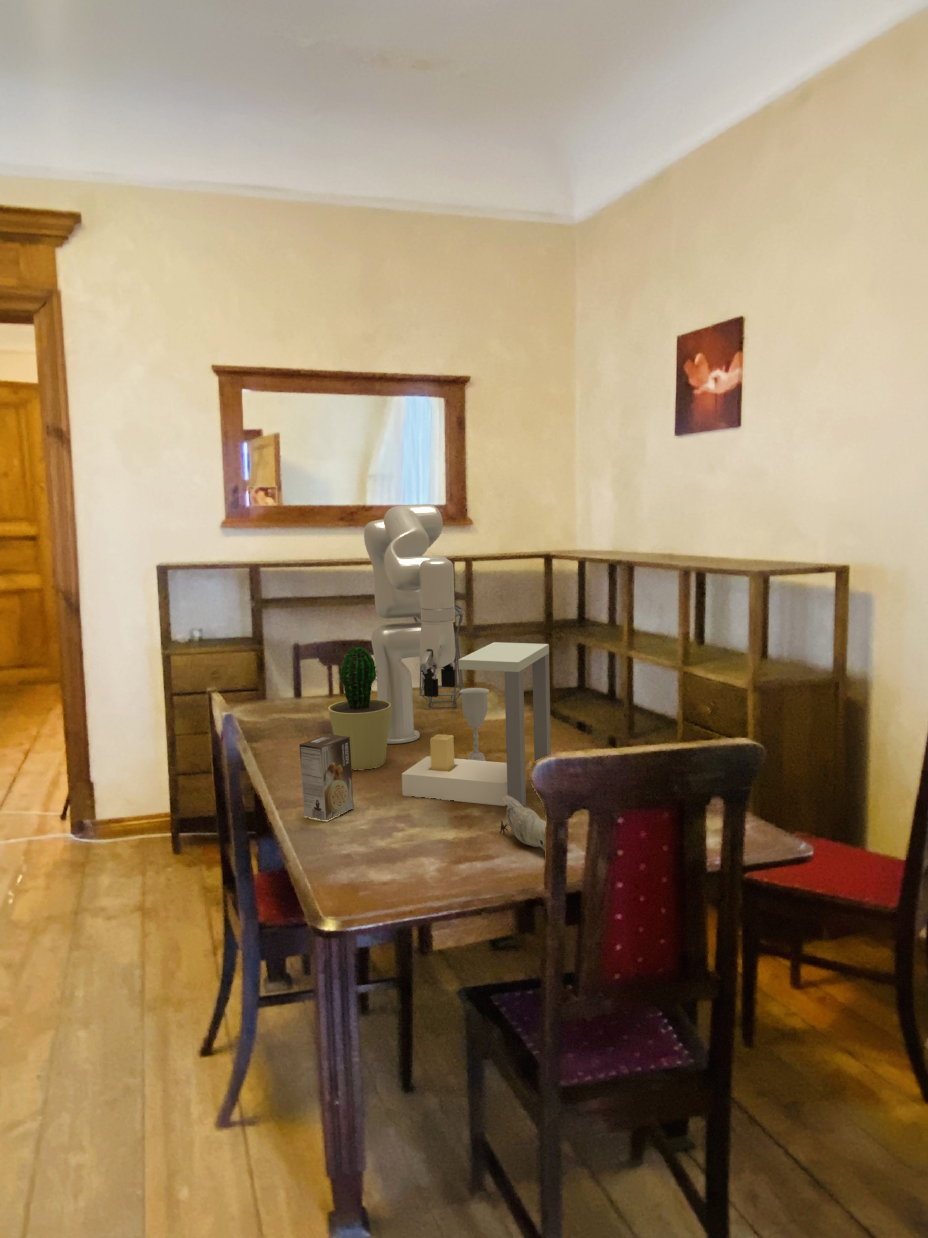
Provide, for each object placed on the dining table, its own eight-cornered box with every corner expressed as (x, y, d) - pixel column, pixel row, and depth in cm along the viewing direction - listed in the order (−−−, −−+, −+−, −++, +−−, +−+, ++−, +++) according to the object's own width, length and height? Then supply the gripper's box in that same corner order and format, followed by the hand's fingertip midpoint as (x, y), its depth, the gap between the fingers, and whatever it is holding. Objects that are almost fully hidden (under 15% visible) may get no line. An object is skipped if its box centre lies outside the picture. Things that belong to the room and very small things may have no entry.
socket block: (402, 795, 203) (401, 773, 202) (427, 776, 215) (427, 756, 215) (505, 806, 194) (504, 783, 193) (525, 785, 207) (524, 764, 206)
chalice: (494, 759, 228) (492, 688, 225) (486, 767, 221) (484, 694, 219) (466, 757, 230) (464, 687, 228) (458, 765, 224) (455, 693, 221)
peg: (432, 790, 205) (430, 738, 204) (438, 785, 209) (437, 734, 207) (448, 792, 204) (446, 740, 202) (455, 786, 208) (453, 735, 206)
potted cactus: (319, 770, 223) (313, 649, 219) (348, 753, 237) (343, 639, 233) (376, 775, 218) (371, 651, 213) (403, 757, 232) (398, 640, 228)
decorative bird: (540, 862, 165) (539, 822, 164) (495, 834, 179) (494, 798, 178) (565, 856, 167) (564, 816, 166) (518, 829, 181) (517, 792, 180)
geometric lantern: (466, 710, 279) (463, 596, 274) (415, 711, 280) (410, 598, 275) (467, 698, 295) (463, 591, 290) (418, 700, 295) (414, 592, 290)
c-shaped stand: (463, 808, 193) (458, 659, 189) (497, 777, 213) (494, 642, 209) (521, 814, 188) (518, 662, 184) (551, 782, 209) (548, 644, 204)
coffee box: (331, 805, 198) (327, 732, 196) (354, 809, 195) (351, 736, 192) (302, 818, 190) (298, 743, 188) (326, 823, 187) (322, 747, 185)
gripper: (437, 609, 210) (439, 682, 213) (405, 621, 194) (408, 699, 197) (467, 610, 208) (469, 684, 210) (438, 622, 192) (440, 701, 194)
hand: (440, 691), depth 204 cm, fingers open, 9 cm apart
